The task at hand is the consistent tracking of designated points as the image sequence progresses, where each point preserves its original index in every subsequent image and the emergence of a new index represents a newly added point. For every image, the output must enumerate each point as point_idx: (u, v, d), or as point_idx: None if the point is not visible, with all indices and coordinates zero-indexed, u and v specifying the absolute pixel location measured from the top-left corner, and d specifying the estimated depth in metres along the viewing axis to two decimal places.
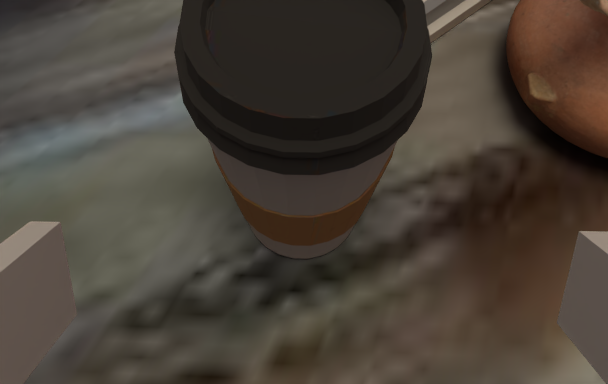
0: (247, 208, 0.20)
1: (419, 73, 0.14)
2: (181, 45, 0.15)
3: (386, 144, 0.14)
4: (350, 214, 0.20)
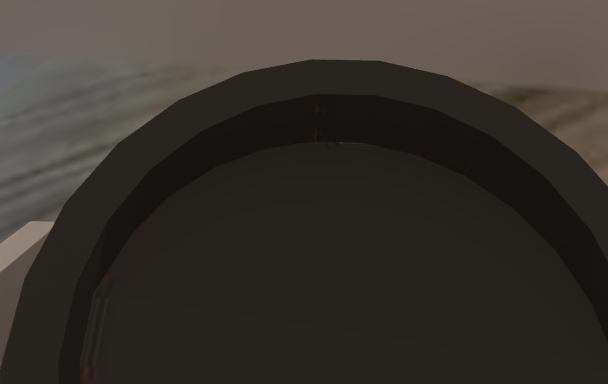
0: None
1: None
2: None
3: None
4: None
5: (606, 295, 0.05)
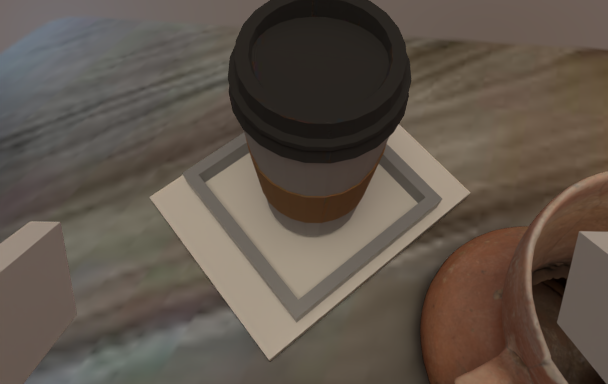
0: (273, 191, 0.26)
1: (401, 92, 0.20)
2: (233, 71, 0.21)
3: (378, 142, 0.20)
4: (352, 196, 0.26)
5: (389, 47, 0.20)
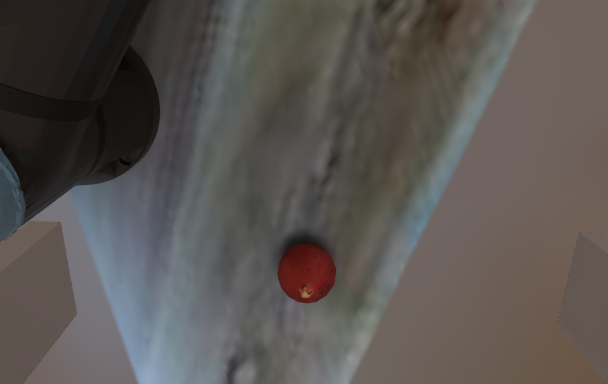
0: None
1: None
2: None
3: None
4: None
5: None
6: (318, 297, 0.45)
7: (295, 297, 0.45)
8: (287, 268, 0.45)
